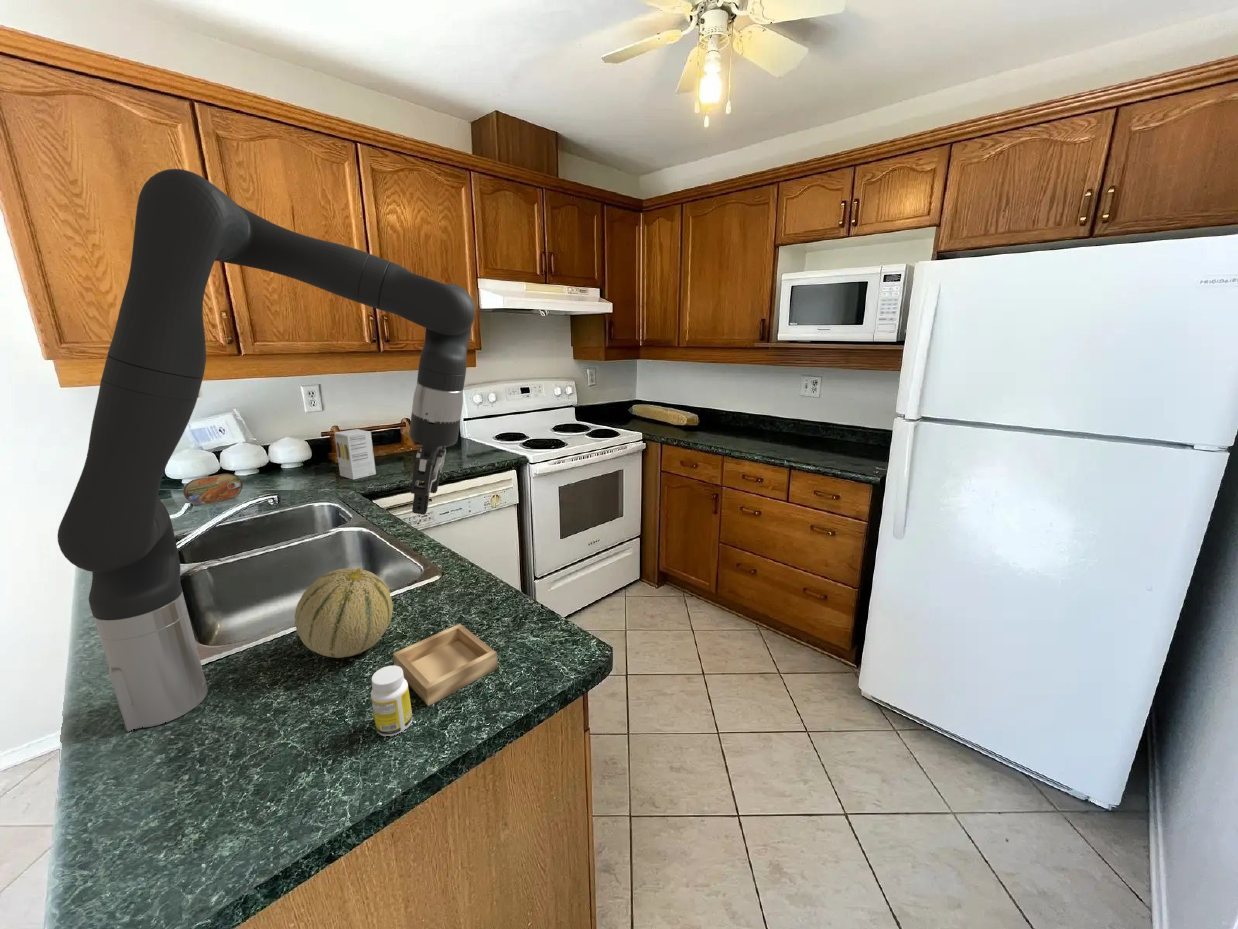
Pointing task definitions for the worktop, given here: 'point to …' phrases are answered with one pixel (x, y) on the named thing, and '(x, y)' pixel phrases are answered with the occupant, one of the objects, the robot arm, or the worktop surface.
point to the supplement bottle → (391, 701)
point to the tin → (213, 489)
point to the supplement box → (355, 453)
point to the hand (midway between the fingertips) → (425, 502)
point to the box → (445, 663)
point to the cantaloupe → (343, 612)
